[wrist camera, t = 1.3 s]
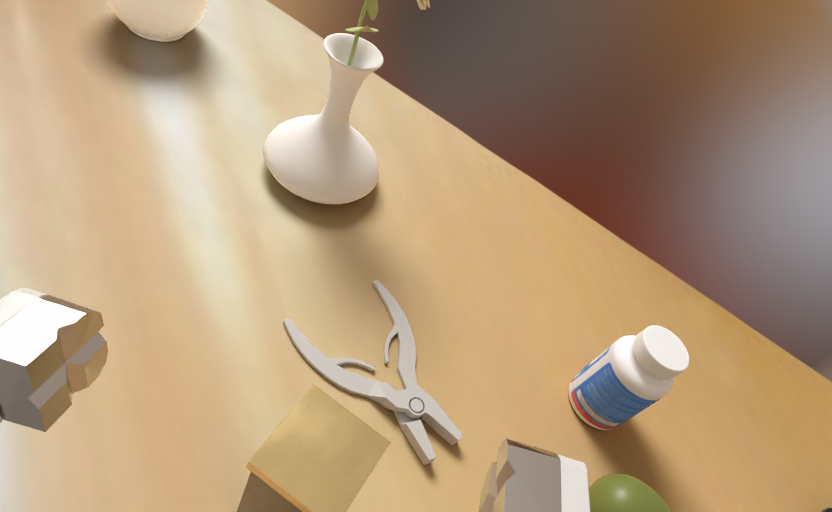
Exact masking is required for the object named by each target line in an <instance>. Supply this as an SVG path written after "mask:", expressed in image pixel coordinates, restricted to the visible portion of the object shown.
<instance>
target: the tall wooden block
mask: <svg viewBox="0 0 832 512" xmlns="http://www.w3.org/2000/svg"><path fill="white" fill-rule="evenodd" d="M390 443H391V442H390V441H388V440H387V439H386V438H384V437H383V436H382V435H380V434H379V433H378V432H376V431H375V430H374V429H372V428H371V427H370V426H368V425H367V424H366V423H364V422H363V421H362V420H360V419H359V418H358V417H356V416H355V415H354V414H352V413H351V412H350V411H348V410H347V409H346V408H344V407H343V406H342V405H340V404H339V403H338V402H336V401H335V400H334V399H332V398H331V397H330V396H328V395H327V394H326V393H325V392H323V391H322V390H321V389H319V388H318V387H317V386H315V385H313V386H312V387H311V388H310V390H309V391H308V392H307V393H306V394H305V395H304V397H303V398H302V399H301V400H300V401H299V403H298V404H297V405H296V406H295V407H294V408H293V410H292V411H291V412H290V413H289V414H288V416H287V417H286V418H285V419H284V420H283V421H282V423H281V424H280V425H279V426H278V427H277V429H276V430H275V431H274V432H273V433H272V434H271V436H270V437H269V438H268V439H267V440H266V441H265V443H264V444H263V445H262V446H261V447H260V449H259V450H258V451H257V452H256V453H255V454H254V456H253V457H252V458H251V459H250V460H249V462H248V464H247V467H246V468H248V469H249V470H250V471H251V473H250V476H249V479H248V482H247V485H246V487H245V490H244V493H243V496H242V499H241V502H240V504H239V507H238V510H237V512H346V511H347V509H348V508H349V506H350V505H351V503H352V502H353V500H354V498H355V497H356V495H357V494H358V492H359V491H360V489H361V488H362V486H363V484H364V483H365V481H366V480H367V478H368V477H369V475H370V474H371V472H372V471H373V469H374V467H375V466H376V464H377V463H378V461H379V460H380V458H381V457H382V455H383V453H384V452H385V450H386V449H387V447H388V446H389V444H390Z"/></svg>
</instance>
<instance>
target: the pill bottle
mask: <svg viewBox="0 0 832 512" xmlns="http://www.w3.org/2000/svg"><path fill="white" fill-rule="evenodd" d="M688 365H689V355H688V352H687V350H686V348H685V346H684V344H683V343H682V342H681V340H680V339H679V338H678V337H677V336H676V335H675V334H674V333H672V332H671V331H669V330H668V329H666V328H664V327H661V326H656V325H653V326H649V327H647V328H646V329H644V330H643V331H642V332H640V333H639V334H638V335H637V336H633V335H631V336H624V337H622V338H620V339H618V340H617V341H616V342H615V343H613V344H612V345H611V346H610V347H608V348H607V349H606V350H605V351H604V352H602V353H601V354H600V355H599V356H598V357H596V358H595V359H594V360H593V361H592V362H591V363H589V364H588V365H587V366H586V367H585V368H583V369H582V370H581V371H580V372H579V373H578V374H576V375H575V376H574V378H573V379H572V380H571V382H570V385H569V391H568V393H569V399H570V402H571V405H572V407H573V409H574V410H575V412H576V413H577V415H578V416H579V417H580V418H581V419H582V420H583V421H584V422H585V423H587V424H588V425H590V426H592V427H594V428H596V429H599V430H611V429H614V428H616V427H618V426H619V425H621V424H622V423H624V422H625V421H627V420H628V419H630V418H631V417H633V416H635V415H636V414H638V413H639V412H641V411H642V410H644V409H645V408H647V407H649V406H650V405H651V404H653V403H655V402H656V401H658V400H659V399H661V398H662V397H663V396H665V395H666V394H667V393H668V392H669V391H670V390H671V388H672V386H673V381H674V377H676V376H678V374H680V373H681V372H683V371H684V370H685V369H686V368H687V367H688Z"/></svg>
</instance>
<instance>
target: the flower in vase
mask: <svg viewBox="0 0 832 512" xmlns="http://www.w3.org/2000/svg"><path fill="white" fill-rule="evenodd" d="M417 2H418V5H419V7H420V9H421V10H423V9H424V10H426V4H427V6H428V7H429V8H430V3H429V0H417ZM366 9H367V10H368V13H369V16H370V18H371V19H372V20H374V19H375V17H376V16H377V13H378V2H377V0H365V2H364V5H363V8H362V12H361V15H360V19H359V22H358V26H357V27H355V28H349V29H346V31H349V32H356V33H355V35H351V34H345V33H336V34H332V35H329V36H327V37H326V38H325V40H324V49H325V51H326V53H327V55H328V57H329V61H330V66H331V80H330V88H329V93H328V98H327V101H326V105H325V107H324V109H323V111H322V113H321V114H320V115H308V116H300V117H297V118H293V119H290V120H288V121H285V122H283V123H281V124H280V125H278V126H277V127H276V128H275V129H274V130H273V131H272V132H271V133H270V135H269V136H268V137H267V139H266V141H265V144H264V148H263V155H264V160H265V163H266V165H267V167H268V169H269V170H270V172H271V173H272V175H273V176H274V178H275V179H276V180H277V181H278V182H279V183H280V184H281V185H282V186H283V187H285V188H286V189H287V190H289V191H290V192H292V193H294V194H295V195H297V196H299V197H302V198H304V199H307V200H310V201H313V202H317V203H323V204H345V203H349V202H353V201H355V200H358V199H360V198H362V197H364V196H366V195H367V194H369V193H370V192H371V191H372V190H373V189H374V187H375V186H376V184H377V181H378V178H379V167H378V160H377V157H376V154H375V152H374V150H373V149H372V147H371V146H370V144H369V143H368V142H367V140H366V139H365V138H364V137H363V136H362V135H361V134H360V133H359V132H358V131H357V130H355V129H354V128H353V127H352V126H350V124H349V114H350V110H351V106H352V104H353V101H354V98H355V96H356V94H357V91H358V89H359V87H360V86H361V84H362V82H363V81H364V79H365V78H366V77H367V76H368V75H369V74H370V73H372V72H373V71H375V70H377V69H379V68H380V67H381V65H382V64H383V56H382V54H381V52H380V51H379V50H378V49H377V48H376V47H375V46H374V45H373V44H371V43H370V42H368V41H366V40H365V39H362V38H360V37H359V35H360V31H368V32H378V30H377V29H373V28H369V27H368V26H365V27H362V23H363V19H364V16H365V12H366Z"/></svg>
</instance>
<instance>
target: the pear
mask: <svg viewBox="0 0 832 512" xmlns="http://www.w3.org/2000/svg"><path fill="white" fill-rule="evenodd" d="M589 498H590V511H591V512H672V510H671V509H670V507H669V506H668V505H667V503H666V502H665V501H664V500H663V498H662V497H661V496H660V495H659V494H658V493H657V492H656V491H654V490H653V489H652V488H651V487H649V486H648V485H647V484H645V483H644V482H642V481H641V480H639V479H637V478H635V477H632V476H630V475H626V474H620V473H614V474H608V475H605V476H603V477H601V478H599V479H598V480H596V481H595V482H594V483H593V484H592V485H591V486H590V488H589Z"/></svg>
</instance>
